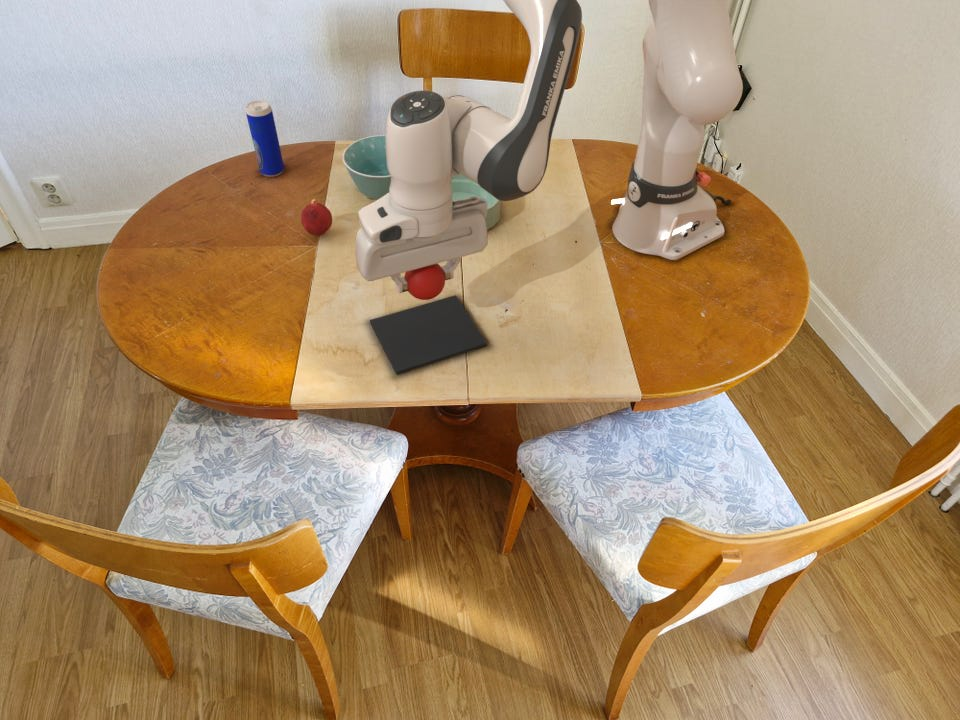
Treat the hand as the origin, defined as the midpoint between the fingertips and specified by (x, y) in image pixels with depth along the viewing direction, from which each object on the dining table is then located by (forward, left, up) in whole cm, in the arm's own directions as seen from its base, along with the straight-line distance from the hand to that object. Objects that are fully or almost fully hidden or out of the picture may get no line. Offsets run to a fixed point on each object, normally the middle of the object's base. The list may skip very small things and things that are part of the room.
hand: (424, 283), depth 109 cm
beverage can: (+12, -60, -11) cm, 62 cm away
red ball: (0, 0, -2) cm, 2 cm away
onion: (+9, -34, -11) cm, 37 cm away
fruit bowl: (-19, -30, -11) cm, 37 cm away
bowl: (-8, -44, -11) cm, 46 cm away
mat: (0, 0, -11) cm, 11 cm away
